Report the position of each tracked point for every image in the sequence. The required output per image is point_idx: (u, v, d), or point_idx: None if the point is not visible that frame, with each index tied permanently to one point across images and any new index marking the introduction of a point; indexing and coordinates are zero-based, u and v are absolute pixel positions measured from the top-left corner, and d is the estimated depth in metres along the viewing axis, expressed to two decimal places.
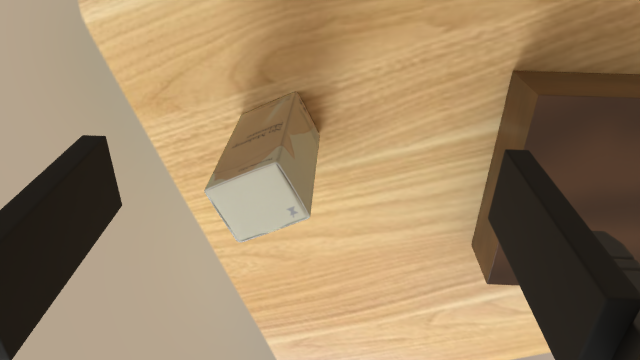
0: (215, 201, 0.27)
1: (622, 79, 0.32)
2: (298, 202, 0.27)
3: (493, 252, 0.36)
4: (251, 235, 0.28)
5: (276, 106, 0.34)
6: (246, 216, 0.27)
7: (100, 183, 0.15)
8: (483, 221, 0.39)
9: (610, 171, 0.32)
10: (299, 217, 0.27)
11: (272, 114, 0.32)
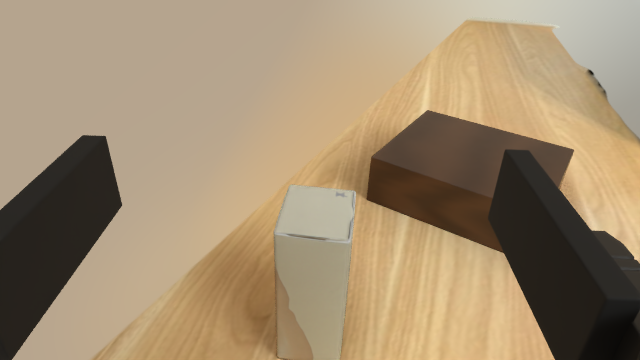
0: (289, 230, 0.25)
1: None
2: (335, 189, 0.29)
3: None
4: (346, 228, 0.25)
5: None
6: (322, 219, 0.26)
7: (100, 183, 0.15)
8: (491, 234, 0.41)
9: (446, 147, 0.47)
10: (349, 194, 0.28)
11: None
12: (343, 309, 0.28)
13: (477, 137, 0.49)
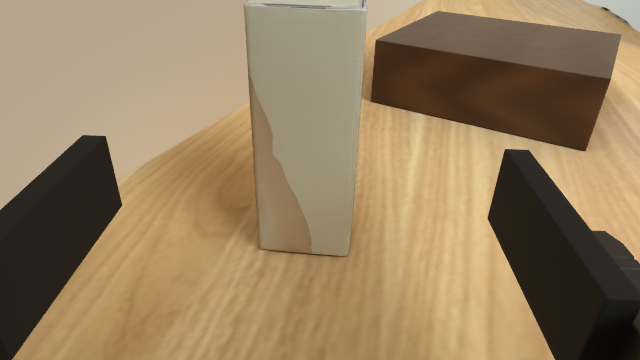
0: (268, 0, 0.16)
1: None
2: None
3: (557, 74, 0.30)
4: (358, 0, 0.16)
5: None
6: None
7: (100, 183, 0.15)
8: (534, 120, 0.32)
9: (467, 33, 0.38)
10: None
11: None
12: (355, 150, 0.18)
13: (502, 27, 0.40)
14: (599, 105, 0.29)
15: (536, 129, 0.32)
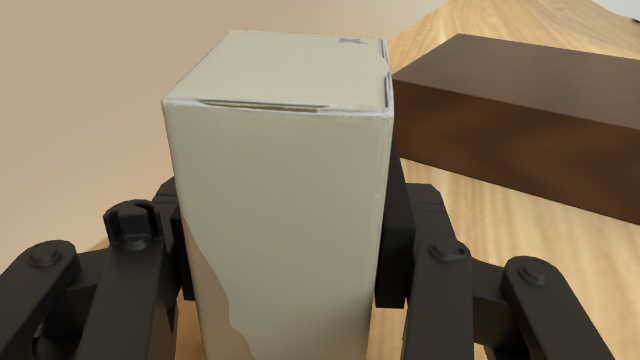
0: (209, 90, 0.08)
1: None
2: (337, 36, 0.12)
3: (631, 134, 0.22)
4: (376, 87, 0.09)
5: None
6: (307, 72, 0.09)
7: None
8: (595, 188, 0.24)
9: (500, 67, 0.30)
10: (373, 41, 0.12)
11: None
12: (367, 323, 0.11)
13: (541, 56, 0.33)
14: None
15: (598, 200, 0.25)
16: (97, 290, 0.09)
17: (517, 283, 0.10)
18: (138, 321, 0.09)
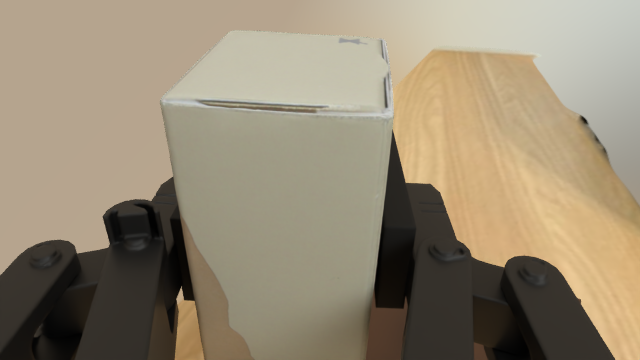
0: (208, 91, 0.08)
1: None
2: (336, 36, 0.12)
3: None
4: (376, 87, 0.09)
5: None
6: (306, 73, 0.09)
7: None
8: None
9: (373, 308, 0.28)
10: (372, 41, 0.12)
11: None
12: (367, 324, 0.11)
13: None
14: None
15: None
16: (98, 290, 0.09)
17: (517, 283, 0.10)
18: (137, 322, 0.09)
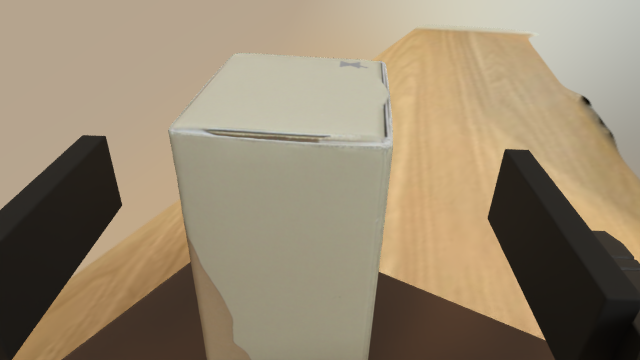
0: (214, 120, 0.09)
1: None
2: (338, 59, 0.12)
3: None
4: (376, 116, 0.09)
5: None
6: (309, 100, 0.10)
7: (100, 183, 0.15)
8: None
9: None
10: (372, 64, 0.12)
11: None
12: (368, 340, 0.11)
13: None
14: None
15: None
16: None
17: None
18: None
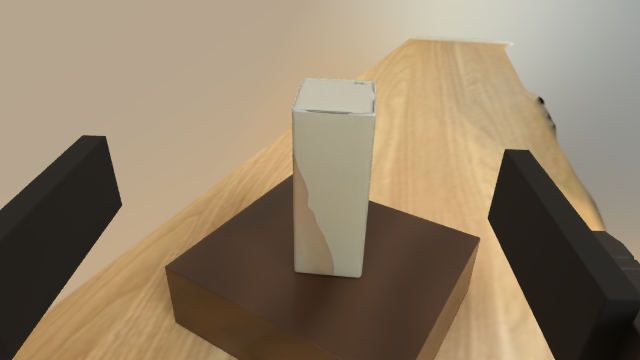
0: (309, 106, 0.23)
1: None
2: (353, 80, 0.27)
3: None
4: (369, 105, 0.24)
5: None
6: (343, 99, 0.24)
7: (100, 183, 0.15)
8: None
9: (290, 243, 0.31)
10: (369, 83, 0.26)
11: None
12: (367, 204, 0.26)
13: None
14: None
15: None
16: None
17: None
18: None
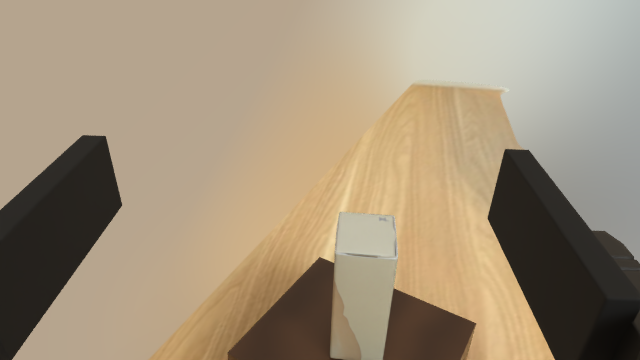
0: (347, 250, 0.31)
1: None
2: (377, 215, 0.35)
3: None
4: (392, 247, 0.31)
5: None
6: (372, 240, 0.32)
7: (100, 183, 0.15)
8: None
9: (324, 329, 0.39)
10: (390, 218, 0.34)
11: None
12: (389, 314, 0.34)
13: None
14: None
15: None
16: None
17: None
18: None
